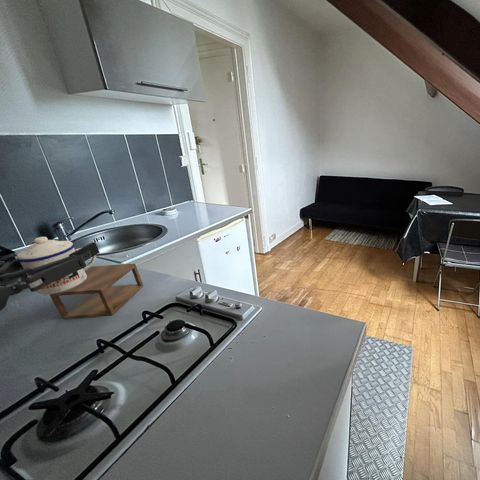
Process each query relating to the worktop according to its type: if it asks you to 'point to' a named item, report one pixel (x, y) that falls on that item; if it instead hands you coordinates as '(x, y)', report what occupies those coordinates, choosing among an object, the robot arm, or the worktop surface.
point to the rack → (100, 292)
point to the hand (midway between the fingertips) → (73, 249)
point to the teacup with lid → (50, 252)
